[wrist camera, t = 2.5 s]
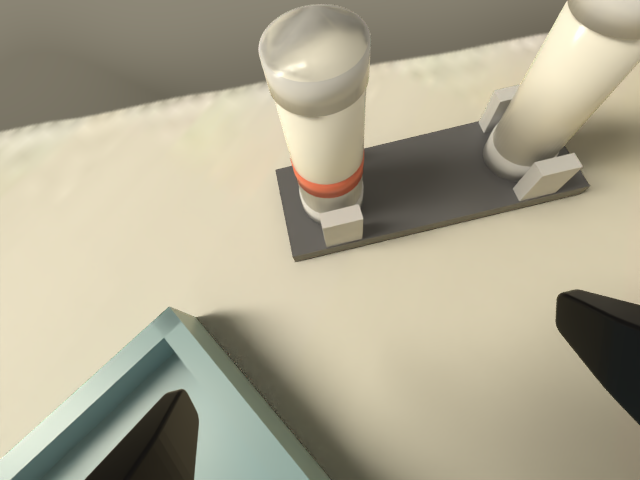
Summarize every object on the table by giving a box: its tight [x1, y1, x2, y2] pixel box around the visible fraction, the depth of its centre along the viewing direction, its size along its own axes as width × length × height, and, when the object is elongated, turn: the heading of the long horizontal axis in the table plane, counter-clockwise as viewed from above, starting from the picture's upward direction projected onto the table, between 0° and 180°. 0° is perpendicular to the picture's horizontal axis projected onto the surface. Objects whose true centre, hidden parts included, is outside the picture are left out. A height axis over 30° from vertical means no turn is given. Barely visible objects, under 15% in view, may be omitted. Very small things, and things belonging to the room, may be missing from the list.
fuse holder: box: [276, 84, 589, 262], centre depth 23 cm, size 7×20×4 cm, turn 102°
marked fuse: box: [259, 4, 371, 225], centre depth 18 cm, size 4×4×12 cm
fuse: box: [483, 0, 640, 182], centre depth 18 cm, size 4×4×12 cm
